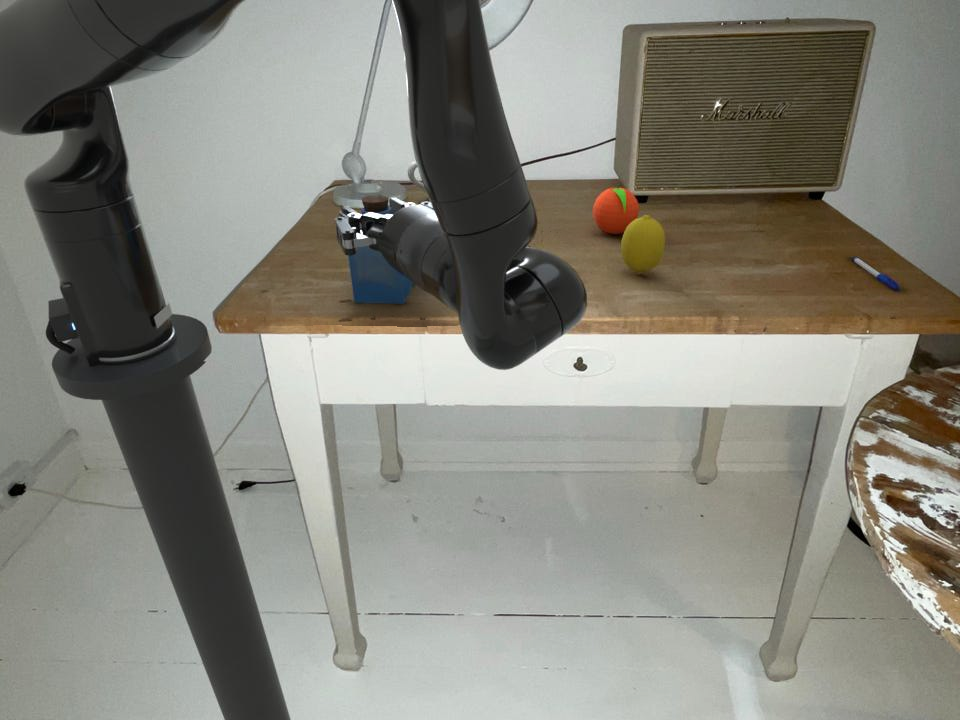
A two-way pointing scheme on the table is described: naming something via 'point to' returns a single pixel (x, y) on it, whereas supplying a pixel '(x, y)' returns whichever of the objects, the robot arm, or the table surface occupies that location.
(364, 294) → the perfume bottle
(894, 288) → the blue and white marker
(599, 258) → the table surface
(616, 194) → the clementine
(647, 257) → the lemon
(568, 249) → the table surface
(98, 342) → the robot arm
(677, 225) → the table surface
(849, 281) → the table surface
